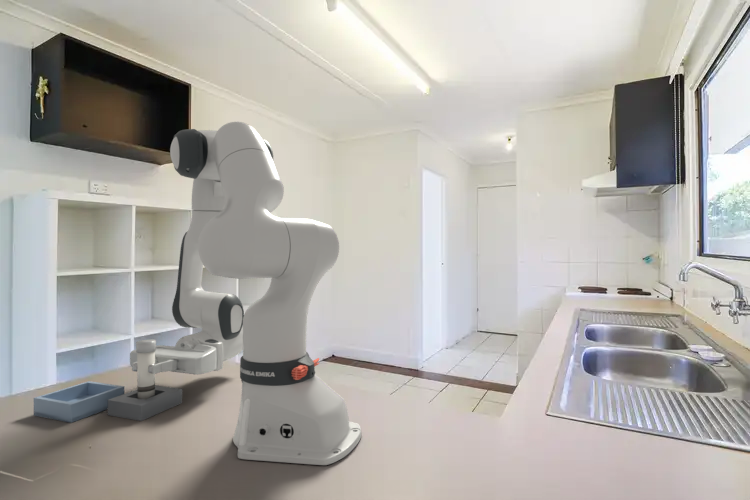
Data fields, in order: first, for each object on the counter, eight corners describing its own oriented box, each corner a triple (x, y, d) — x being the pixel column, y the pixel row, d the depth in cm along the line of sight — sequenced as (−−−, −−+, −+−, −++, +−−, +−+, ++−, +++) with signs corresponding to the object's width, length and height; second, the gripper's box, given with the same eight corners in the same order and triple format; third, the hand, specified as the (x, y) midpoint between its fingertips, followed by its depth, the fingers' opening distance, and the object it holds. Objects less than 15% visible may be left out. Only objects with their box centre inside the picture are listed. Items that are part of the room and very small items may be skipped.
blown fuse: (160, 406, 85) (160, 340, 85) (145, 413, 81) (145, 343, 82) (147, 404, 86) (147, 338, 86) (132, 410, 83) (132, 342, 83)
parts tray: (124, 402, 87) (124, 386, 87) (71, 422, 77) (71, 404, 77) (88, 396, 91) (88, 381, 91) (33, 415, 81) (33, 397, 81)
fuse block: (182, 402, 87) (182, 388, 87) (141, 421, 78) (141, 405, 78) (150, 397, 90) (150, 384, 90) (107, 414, 81) (107, 399, 81)
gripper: (160, 336, 99) (106, 349, 86) (228, 342, 93) (180, 357, 80) (160, 362, 99) (106, 379, 86) (228, 370, 93) (180, 389, 80)
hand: (142, 368), depth 83 cm, fingers closed on blown fuse, 3 cm apart
